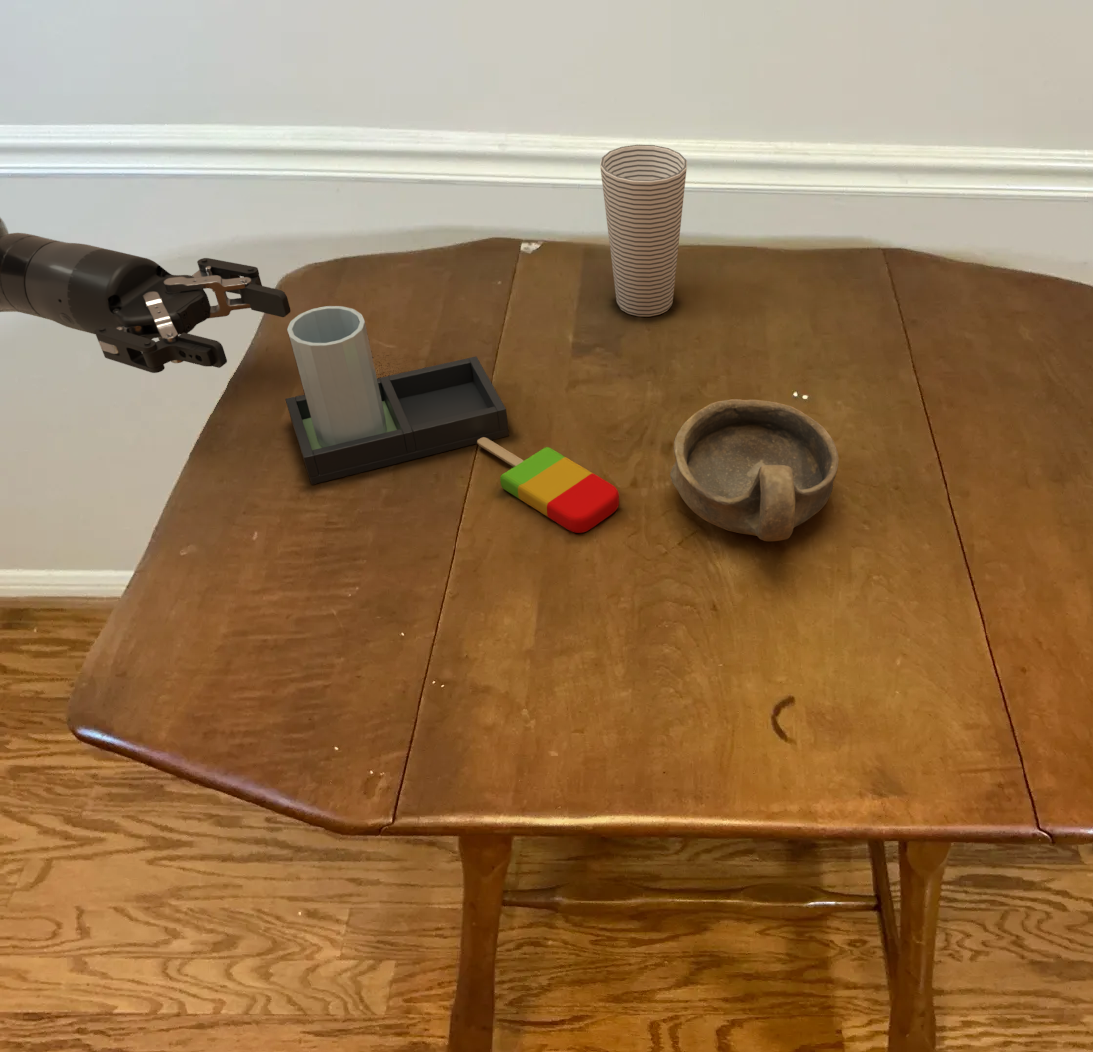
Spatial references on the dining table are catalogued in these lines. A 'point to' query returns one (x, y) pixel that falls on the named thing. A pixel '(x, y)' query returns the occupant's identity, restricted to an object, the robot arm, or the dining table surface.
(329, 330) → the tumbler
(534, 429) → the dining table surface
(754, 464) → the bowl
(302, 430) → the tray
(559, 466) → the popsicle
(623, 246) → the cup
